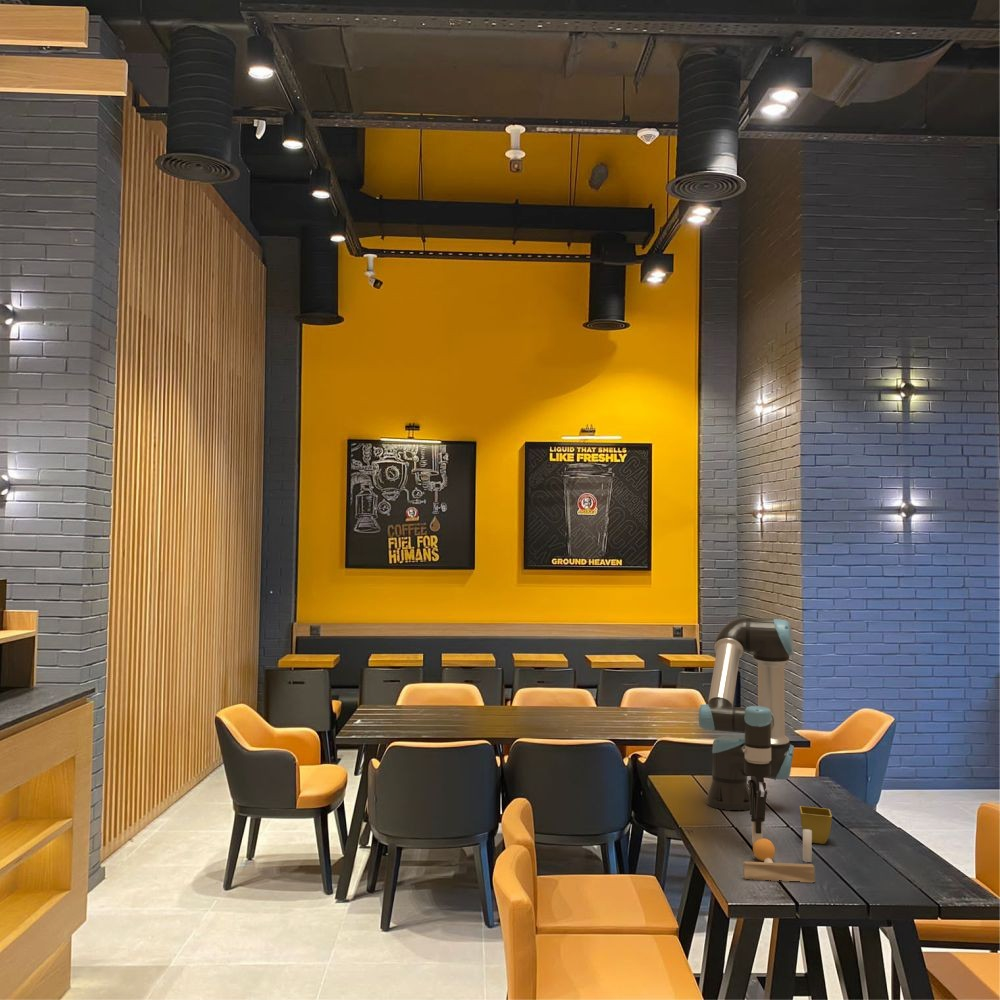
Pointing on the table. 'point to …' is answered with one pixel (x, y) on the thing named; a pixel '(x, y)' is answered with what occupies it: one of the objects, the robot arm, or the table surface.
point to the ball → (763, 849)
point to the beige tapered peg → (807, 845)
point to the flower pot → (816, 822)
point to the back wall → (779, 871)
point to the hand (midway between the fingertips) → (757, 843)
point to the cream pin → (768, 860)
